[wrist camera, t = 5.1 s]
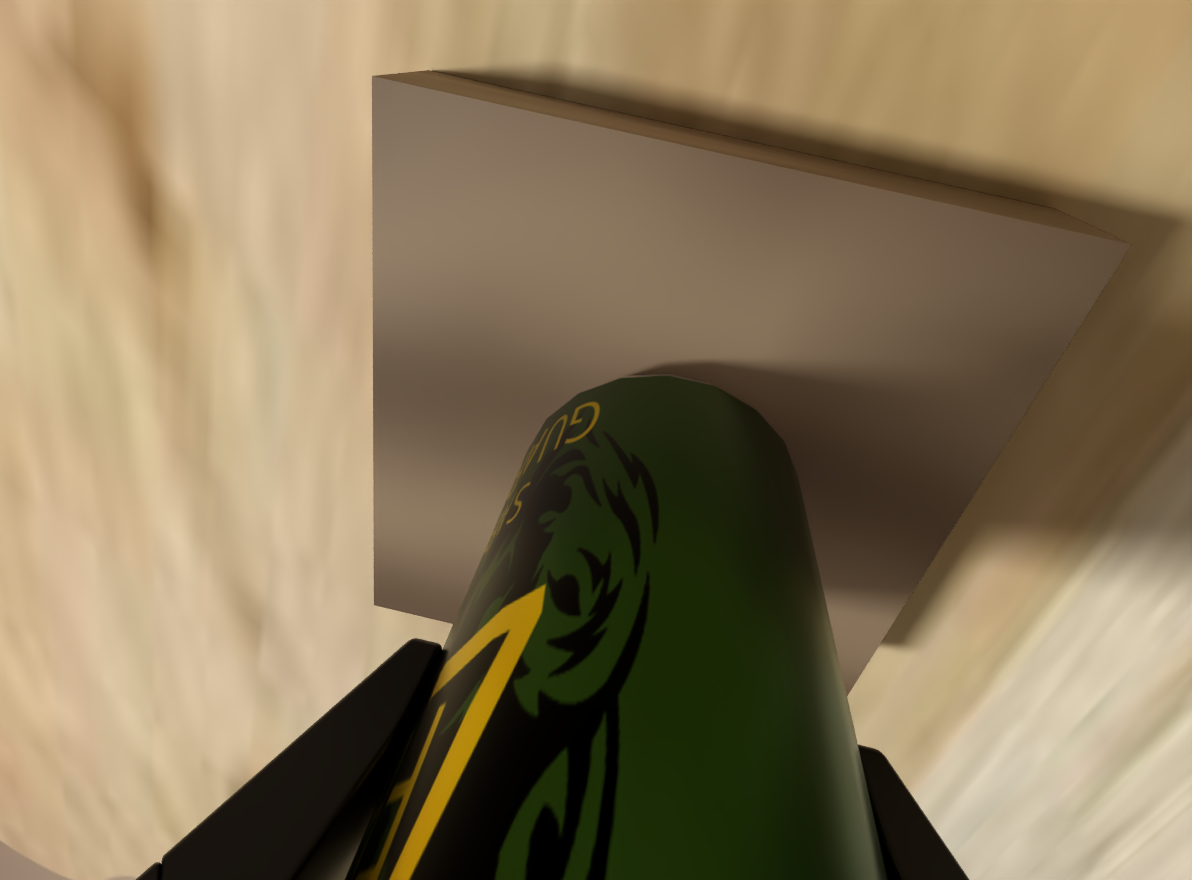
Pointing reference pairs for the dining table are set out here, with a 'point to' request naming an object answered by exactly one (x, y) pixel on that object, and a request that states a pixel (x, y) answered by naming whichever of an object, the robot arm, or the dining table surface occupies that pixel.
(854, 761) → the beer can
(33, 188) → the dining table surface
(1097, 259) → the walnut block
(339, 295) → the dining table surface
